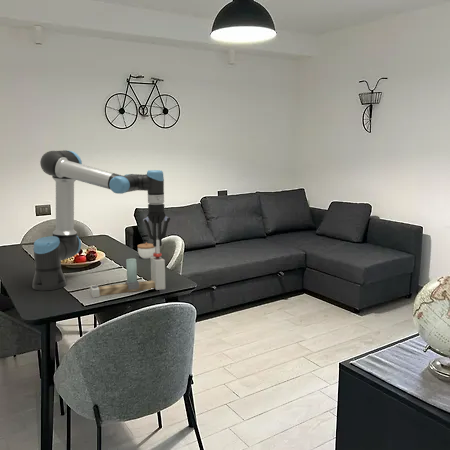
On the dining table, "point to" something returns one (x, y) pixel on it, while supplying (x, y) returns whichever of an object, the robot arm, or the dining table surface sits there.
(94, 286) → the block
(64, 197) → the robot arm
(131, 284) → the carriage
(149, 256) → the lidded jar
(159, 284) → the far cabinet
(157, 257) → the gauge plunger
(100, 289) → the rail
